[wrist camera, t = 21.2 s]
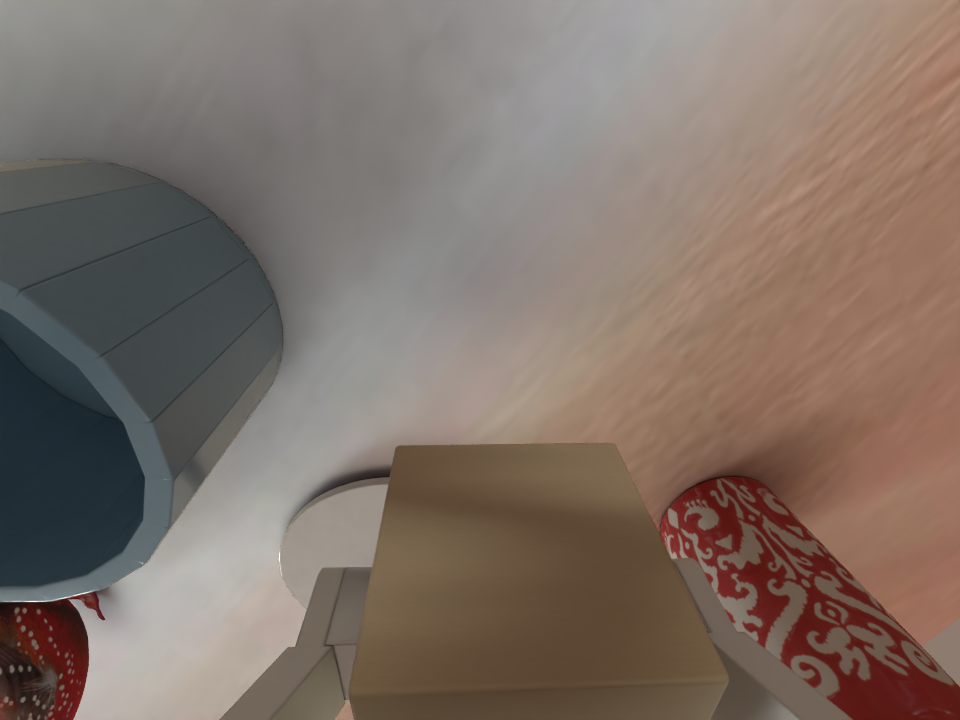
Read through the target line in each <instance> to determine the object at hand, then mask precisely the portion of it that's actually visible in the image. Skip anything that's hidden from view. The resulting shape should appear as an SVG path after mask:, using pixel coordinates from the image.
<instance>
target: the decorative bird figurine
mask: <svg viewBox="0 0 960 720" xmlns="http://www.w3.org/2000/svg"><path fill="white" fill-rule="evenodd" d="M68 599H79V600H82V602H83V603H84V605H85V606H86V607H87V608H90V609H94V610H96V612H97V614H98V616H99V618H100V619H102V620H105V618H104V616H103V615H102V613H101V611H100V608H99V599H98V597H97V594H96V593H95V592H90V593H86V594H81V595H77V596H73V597H68V598H64V599H60V600H56V601H48V602H0V720H73V719H74V717H75V714H76V712H77V709H78V707H79V704H80V701H81V698H82V695H83V692H84V687H85V683H86V678H87V672H88V666H89V647H88V636H87V632H86V629H85V626H84V623H83V621H82V618H81V616H80V614H79V612H78V610H77V609H76V608H75V607H74V606H73V605H72V603H71V602H70V601H69V600H68Z"/></svg>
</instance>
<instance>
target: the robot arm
mask: <svg viewBox="0 0 960 720" xmlns="http://www.w3.org/2000/svg"><path fill="white" fill-rule="evenodd" d="M672 561H673V563H674V565H675V567H676V569H677V571H678V573H679V575H680V577H681V579H682V581H683V583H684V585H685V588H686V590H687V592H688V594H689V596H690V598H691V600H692V602H693V604H694V606H695V608H696V610H697V612H698V614H699V616H700V618H701V620H702V622H703V624H704V626H705V628H706V630H707V632H708V634H709V636H710V638H711V641H712V643H713V645H714V647H715V649H716V651H717V653H718V655H719V657H720V659H721V661H722V663H723V665H724V667H725V669H726V671H727V673H728V677H729V683H728V685H727V687H726V689H725V691H724V693H723V695H722V697H721V699H720V701H719V703H718V705H717V707H716V709H715V711H714V713H713V715H712V718H711V720H853V719H852V718H851V717H849V716H848V715H847V714H846V713H844V712H843V711H842V710H841V709H839V708H838V707H837V706H836V705H834V704H833V703H832V702H831V701H829V700H828V699H827V698H826V697H824V696H823V695H822V694H821V693H819V692H818V691H817V690H816V689H815V688H813V687H812V686H811V685H810V684H808V683H807V682H806V681H805V680H803V679H802V678H801V677H800V676H798V675H797V674H796V673H795V672H793V671H792V670H791V669H790V668H788V667H787V666H786V665H785V664H784V663H782V662H781V661H780V660H779V659H777V658H776V657H775V656H774V655H772V654H771V653H770V652H769V651H767V650H766V649H765V648H764V647H762V646H761V645H760V644H759V643H757V642H756V641H755V640H754V639H753V638H751V637H750V636H749V635H748V634H746V633H745V632H737V631H736V629H735V627H734V626H733V624H732V622H731V620H730V618H729V617H728V615H727V613H726V611H725V609H724V608H723V606H722V604H721V602H720V601H719V599H718V597H717V595H716V593H715V592H714V590H713V588H712V586H711V584H710V583H709V581H708V579H707V577H706V576H705V574H704V572H703V570H702V568H701V567H700V565H699V563H698V562H697V561H696V560H695V559H694V558H677V559H672ZM371 570H372V567H328V568H322V569H321V571H320V572H319V574H318V576H317V579H316V582H315V586H314V589H313V592H312V595H311V598H310V601H309V605H308V608H307V611H306V614H305V617H304V621H303V624H302V627H301V630H300V633H299V636H298V640H297V643H296V646H295V647H288V648H287V649H286V650H285V651H284V652H283V653H282V654H281V655H280V656H279V657H278V658H277V659H276V660H275V661H274V662H273V663H272V665H271V666H270V667H269V668H268V669H267V670H266V671H265V672H264V673H263V674H262V675H261V676H260V677H259V678H258V679H257V680H256V682H255V683H254V684H253V685H252V686H251V687H250V688H249V689H248V690H247V691H246V692H245V693H244V694H243V695H242V696H241V697H240V698H239V700H238V701H237V702H236V703H235V704H234V705H233V706H232V707H231V708H230V709H229V710H228V711H227V712H226V713H225V714H224V715H223V717H222V718H221V719H220V720H334V719H335V718H336V716H337V715H338V713H339V712H340V710H341V709H342V707H343V706H344V704H345V700H350V699H349V694H348V687H349V682H350V677H351V672H352V667H353V662H354V656H355V651H356V646H357V641H358V636H359V631H360V626H361V621H362V616H363V611H364V605H365V600H366V595H367V590H368V585H369V580H370V575H371Z"/></svg>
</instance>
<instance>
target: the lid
mask: <svg viewBox="0 0 960 720" xmlns="http://www.w3.org/2000/svg"><path fill="white" fill-rule="evenodd" d="M389 478H390V477H383V478H373V479H365V480H361V481H356V482H351V483H348V484H345V485H342V486H339V487H336V488H334V489H332V490H330V491H327V492H325V493H323V494H321V495H320V496H318V497H317V498H315V499H314V500H312V501H311V502H309V503H308V504H307V505H306V506H305V507H304V508H302V509H301V510H300V511H299V512H298V514H297V515H296V516H295V517H294V518H293V519H292V521H291V523H290V525H289V526H288V528H287V530H286V532H285V535H284V537H283V540H282V543H281V546H280V552H279V564H280V570H281V574H282V578H283V580H284V582H285V584H286V586H287V588H288V589H289V591H290V592H291V594H292V595H293V596H294V598H295V599H296V600H297V601H298V602H299V603H300V604H301V605H302V606H303V607H305V608H306V609H307V608H308V605H309V601H310V598H311V595H312V592H313V589H314V586H315V582H316V579H317V576H318V574H319V572H320V571H321V569H322V568H328V567H372V565H373V560H374V554H375V549H376V544H377V539H378V534H379V529H380V524H381V519H382V514H383V509H384V503H385V498H386V493H387V488H388V483H389Z"/></svg>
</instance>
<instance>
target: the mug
mask: <svg viewBox="0 0 960 720" xmlns="http://www.w3.org/2000/svg"><path fill="white" fill-rule="evenodd" d="M660 535H661V539H662V541H663V543H664V545H665V547H666V549H667V551H668V553H669V555H670V557H671V559H677V558H694V559H695V560H696V561H697V562H698V563H699V565H700V567H701V568H702V570H703V572H704V574H705V576H706V577H707V579H708V581H709V583H710V584H711V586H712V588H713V590H714V592H715V593H716V595H717V597H718V599H719V601H720V602H721V604H722V606H723V608H724V609H725V611H726V613H727V615H728V617H729V618H730V620H731V622H732V624H733V626H734V627H735V629H736V631H737V632H745V633H746V634H748V635H749V636H750V637H751V638H753V639H754V640H755V641H756V642H757V643H759V644H760V645H761V646H762V647H764V648H765V649H766V650H767V651H769V652H770V653H771V654H772V655H774V656H775V657H776V658H777V659H779V660H780V661H781V662H782V663H784V664H785V665H786V666H787V667H788V668H790V669H791V670H792V671H793V672H795V673H796V674H797V675H798V676H800V677H801V678H802V679H803V680H805V681H806V682H807V683H808V684H810V685H811V686H812V687H813V688H815V689H816V690H817V691H818V692H819V693H821V694H822V695H823V696H824V697H826V698H827V699H828V700H829V701H831V702H832V703H833V704H834V705H836V706H837V707H838V708H839V709H841V710H842V711H843V712H844V713H846V714H847V715H848V716H849V717H851V718H852V719H853V720H960V687H959V686H958V685H957V684H956V683H955V681H954V680H953V679H952V678H951V677H950V676H949V675H948V674H947V673H946V672H945V671H944V670H943V669H942V668H941V667H940V665H939V664H938V663H937V662H936V661H935V660H934V659H933V658H932V657H931V656H930V655H929V654H928V653H927V652H926V651H925V650H924V649H923V648H922V647H921V646H920V645H919V644H918V643H917V641H916V640H915V639H914V638H913V637H912V636H911V635H910V634H909V633H908V632H907V631H906V630H905V629H904V628H903V627H902V626H901V625H900V624H899V623H898V622H897V621H896V620H895V618H894V617H893V616H892V615H890V614H889V613H888V612H887V611H886V610H885V609H884V608H883V607H882V605H881V604H880V603H879V602H878V601H877V600H876V599H875V598H874V597H873V596H872V595H871V594H870V593H869V592H868V591H867V590H866V589H865V588H864V587H863V586H862V585H861V584H860V583H859V582H858V581H857V580H856V579H855V578H854V577H853V576H852V575H851V574H850V572H849V571H848V570H847V569H846V568H845V567H844V566H843V565H842V564H841V563H840V562H839V561H838V560H837V559H836V558H835V557H834V556H833V555H832V554H831V553H830V552H829V551H828V549H827V548H826V547H825V546H824V545H823V544H822V543H821V542H820V541H819V540H818V539H817V538H816V537H815V536H814V535H813V534H812V533H811V532H810V531H809V530H808V529H807V528H806V527H805V526H804V525H803V524H802V523H801V522H800V521H799V520H798V519H797V517H796V516H795V515H794V514H793V513H792V512H791V511H790V510H789V509H788V508H787V507H786V506H785V505H784V504H783V503H782V502H781V501H780V500H779V499H778V498H777V497H776V496H775V495H774V494H773V493H772V492H771V491H770V490H769V489H768V488H767V487H766V486H765V485H763V484H762V483H760V482H758V481H756V480H753V479H750V478H745V477H723V478H718V479H713V480H710V481H707V482H704V483H701V484H699V485H697V486H695V487H693V488H691V489H689V490H688V491H686V492H685V493H683V494H682V495H681V496H680V497H678V498H677V499H676V500H675V501H674V502H673V504H672V505H671V506H670V507H669V508H668V510H667V511H666V513H665V515H664V517H663V519H662V522H661V529H660Z"/></svg>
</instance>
